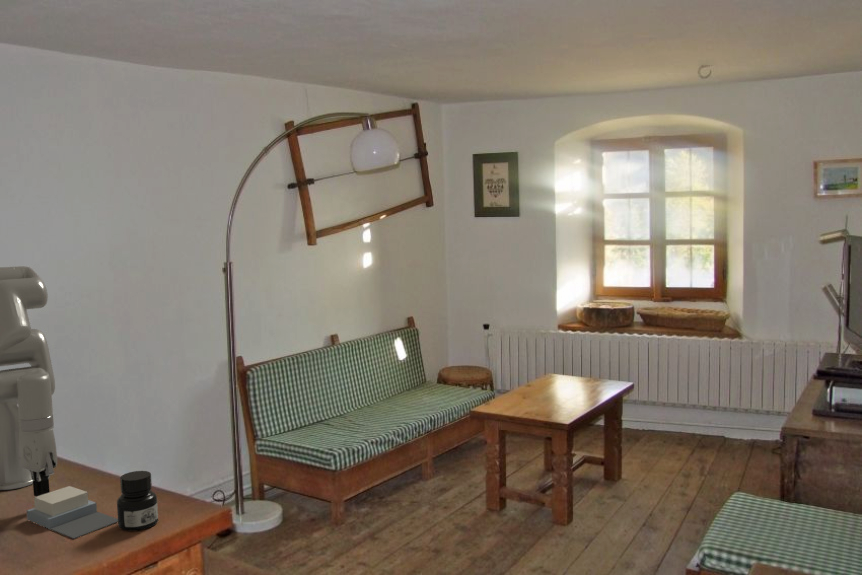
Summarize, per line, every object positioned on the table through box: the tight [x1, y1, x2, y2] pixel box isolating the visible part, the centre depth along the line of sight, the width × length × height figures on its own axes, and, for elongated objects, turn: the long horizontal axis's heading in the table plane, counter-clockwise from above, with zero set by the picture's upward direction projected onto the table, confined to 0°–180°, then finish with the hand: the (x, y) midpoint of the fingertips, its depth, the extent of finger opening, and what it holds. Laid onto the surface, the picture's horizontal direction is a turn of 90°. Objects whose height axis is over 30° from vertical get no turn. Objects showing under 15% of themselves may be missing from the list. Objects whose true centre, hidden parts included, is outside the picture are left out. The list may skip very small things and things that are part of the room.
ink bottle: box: [116, 470, 159, 532], centre depth 182 cm, size 10×9×12 cm
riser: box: [26, 499, 98, 530], centre depth 188 cm, size 10×12×2 cm
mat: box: [50, 511, 118, 540], centre depth 183 cm, size 10×12×1 cm
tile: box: [33, 485, 89, 516], centre depth 188 cm, size 8×9×3 cm
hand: (41, 494), depth 193 cm, fingers closed
